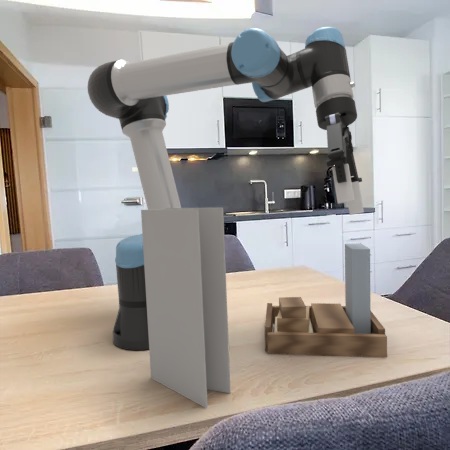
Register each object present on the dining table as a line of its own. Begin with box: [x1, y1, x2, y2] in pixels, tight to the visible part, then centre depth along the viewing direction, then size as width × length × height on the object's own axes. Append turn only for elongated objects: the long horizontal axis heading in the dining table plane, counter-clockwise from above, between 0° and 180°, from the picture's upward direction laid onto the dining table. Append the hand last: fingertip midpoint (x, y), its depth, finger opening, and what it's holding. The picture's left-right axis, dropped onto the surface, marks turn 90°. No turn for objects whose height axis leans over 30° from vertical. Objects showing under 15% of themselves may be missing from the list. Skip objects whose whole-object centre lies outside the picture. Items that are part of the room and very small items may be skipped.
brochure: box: [140, 207, 232, 409], centre depth 60 cm, size 14×6×30 cm, turn 47°
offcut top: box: [278, 296, 307, 318], centre depth 79 cm, size 5×7×2 cm
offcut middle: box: [277, 305, 310, 333], centre depth 80 cm, size 6×9×3 cm
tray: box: [264, 302, 388, 358], centre depth 79 cm, size 23×18×5 cm
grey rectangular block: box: [344, 242, 372, 334], centre depth 77 cm, size 4×8×20 cm, turn 171°
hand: (351, 208), depth 67 cm, fingers open, 13 cm apart
